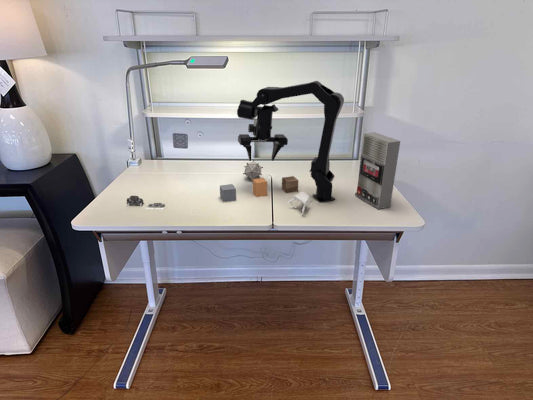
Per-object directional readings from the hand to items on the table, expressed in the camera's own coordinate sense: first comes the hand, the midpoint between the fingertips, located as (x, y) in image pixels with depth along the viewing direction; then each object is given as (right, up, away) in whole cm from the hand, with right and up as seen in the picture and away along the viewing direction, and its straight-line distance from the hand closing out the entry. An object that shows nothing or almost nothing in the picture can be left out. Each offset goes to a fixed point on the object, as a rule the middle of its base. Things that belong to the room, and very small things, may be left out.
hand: (261, 160), depth 149 cm
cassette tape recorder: (+42, -16, -6) cm, 46 cm away
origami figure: (+15, -20, -13) cm, 28 cm away
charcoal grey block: (-13, -15, -4) cm, 20 cm away
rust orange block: (-1, -14, 0) cm, 13 cm away
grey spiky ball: (-4, -7, +15) cm, 17 cm away
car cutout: (-42, -19, -11) cm, 47 cm away
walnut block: (+12, -12, +4) cm, 17 cm away
